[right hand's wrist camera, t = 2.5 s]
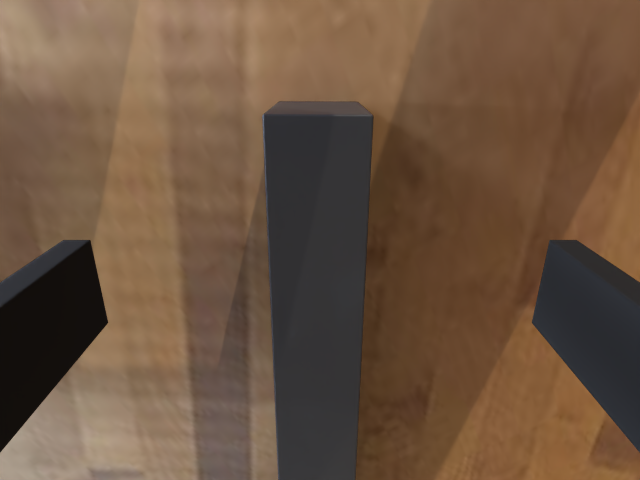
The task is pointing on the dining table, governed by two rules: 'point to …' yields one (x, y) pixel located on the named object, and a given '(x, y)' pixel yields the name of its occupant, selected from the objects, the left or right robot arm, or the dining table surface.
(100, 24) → the dining table surface
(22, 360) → the right robot arm
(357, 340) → the beam
